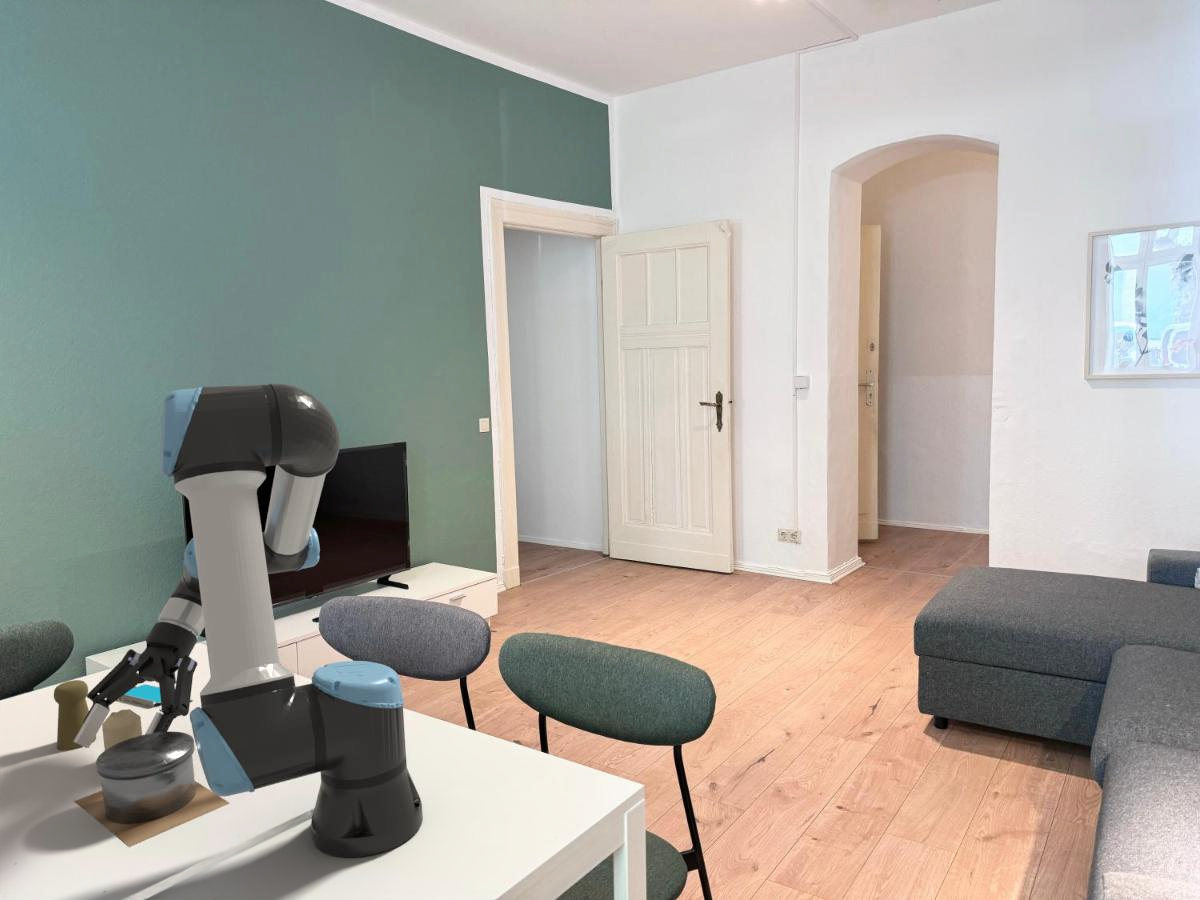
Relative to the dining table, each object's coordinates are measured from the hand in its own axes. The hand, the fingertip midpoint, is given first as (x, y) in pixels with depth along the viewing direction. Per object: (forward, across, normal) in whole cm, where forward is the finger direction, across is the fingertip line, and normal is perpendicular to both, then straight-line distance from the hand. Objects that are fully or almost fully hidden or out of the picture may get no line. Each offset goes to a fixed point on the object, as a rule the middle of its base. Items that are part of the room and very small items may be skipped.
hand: (111, 750), depth 139 cm
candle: (+2, 0, -5) cm, 5 cm away
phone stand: (-17, +22, -25) cm, 37 cm away
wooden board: (+8, -15, +1) cm, 17 cm away
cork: (-2, +18, -9) cm, 20 cm away
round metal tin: (+7, -15, +2) cm, 17 cm away
